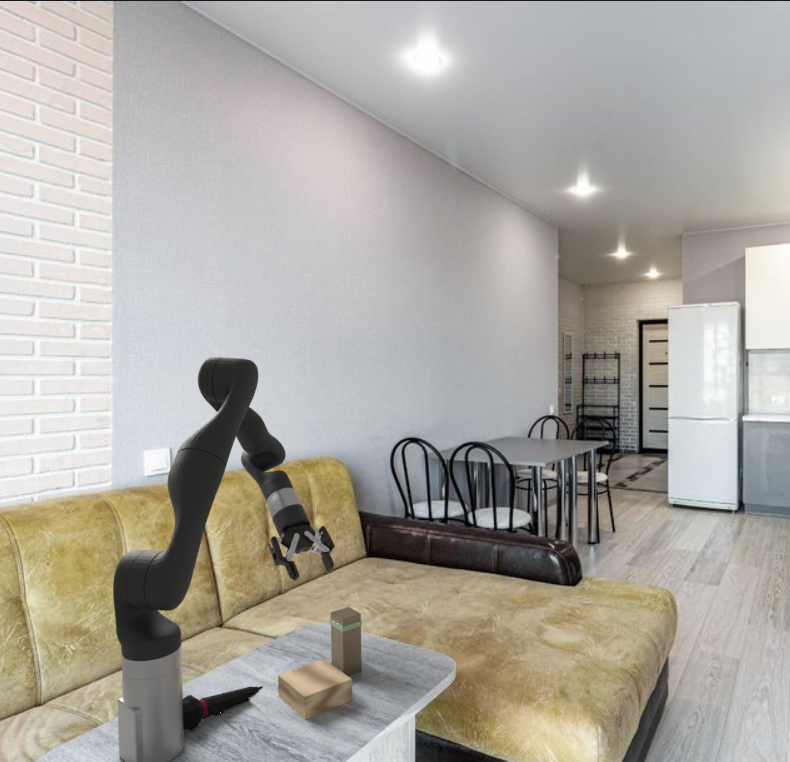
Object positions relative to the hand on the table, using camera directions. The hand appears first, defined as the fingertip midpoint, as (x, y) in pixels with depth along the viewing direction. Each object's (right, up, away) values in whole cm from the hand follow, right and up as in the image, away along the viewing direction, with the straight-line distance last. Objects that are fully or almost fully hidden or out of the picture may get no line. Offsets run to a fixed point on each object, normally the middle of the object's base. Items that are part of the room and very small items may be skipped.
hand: (314, 574), depth 137 cm
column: (+8, -17, -9) cm, 21 cm away
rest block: (+3, -18, -19) cm, 27 cm away
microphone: (-14, -19, -21) cm, 32 cm away
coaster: (+8, -18, -9) cm, 21 cm away
